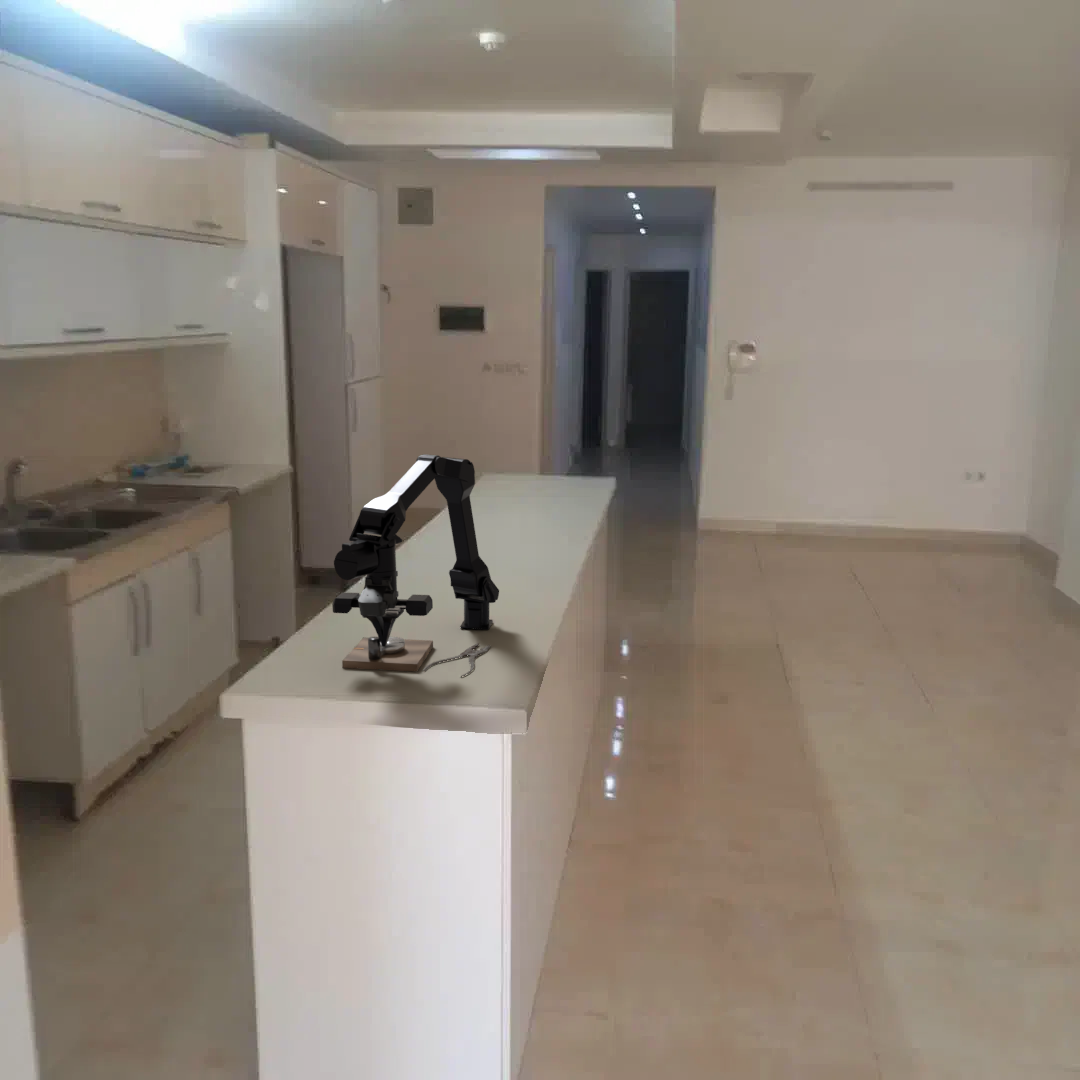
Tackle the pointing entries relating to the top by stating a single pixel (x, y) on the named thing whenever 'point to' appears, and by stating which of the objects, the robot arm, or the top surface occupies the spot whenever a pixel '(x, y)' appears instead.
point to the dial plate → (389, 656)
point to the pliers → (469, 652)
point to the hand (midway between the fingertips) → (384, 646)
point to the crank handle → (377, 649)
